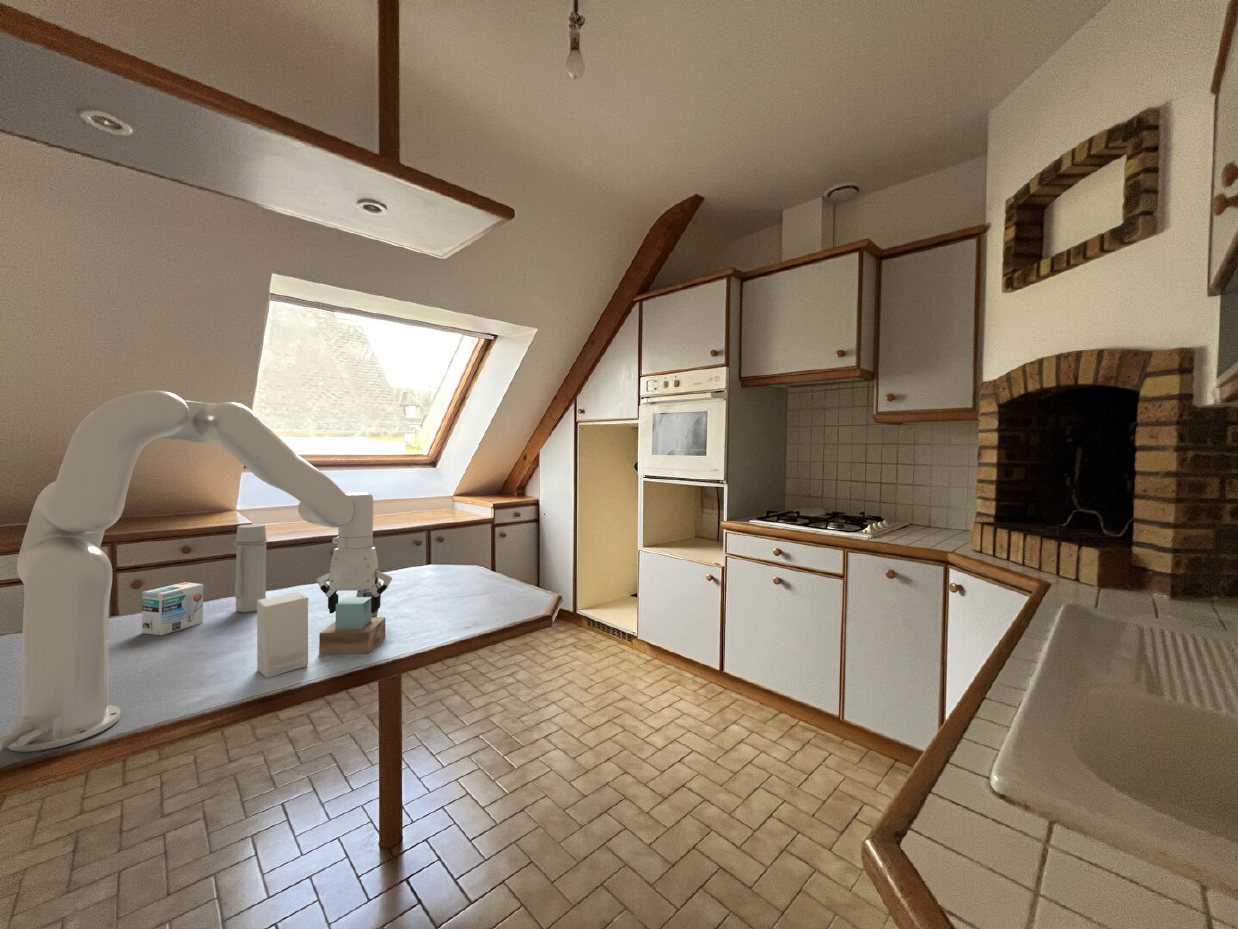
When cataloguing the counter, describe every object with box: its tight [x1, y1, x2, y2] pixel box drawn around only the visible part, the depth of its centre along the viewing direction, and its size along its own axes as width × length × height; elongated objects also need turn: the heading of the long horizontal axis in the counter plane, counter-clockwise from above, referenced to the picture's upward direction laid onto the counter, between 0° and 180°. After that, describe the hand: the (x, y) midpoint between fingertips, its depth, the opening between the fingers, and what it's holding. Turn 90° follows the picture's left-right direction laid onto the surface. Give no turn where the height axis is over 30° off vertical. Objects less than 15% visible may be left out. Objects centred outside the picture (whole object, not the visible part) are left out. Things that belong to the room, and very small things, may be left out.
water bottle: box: [233, 523, 268, 614], centre depth 144 cm, size 9×8×25 cm
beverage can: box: [355, 580, 383, 617], centre depth 137 cm, size 6×7×12 cm
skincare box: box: [256, 591, 309, 679], centre depth 107 cm, size 8×7×16 cm
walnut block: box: [318, 616, 386, 655], centre depth 121 cm, size 11×11×5 cm
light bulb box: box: [141, 581, 205, 636], centre depth 129 cm, size 11×7×11 cm, turn 168°
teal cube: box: [334, 596, 372, 629], centre depth 121 cm, size 6×6×6 cm
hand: (354, 611), depth 121 cm, fingers open, 9 cm apart
